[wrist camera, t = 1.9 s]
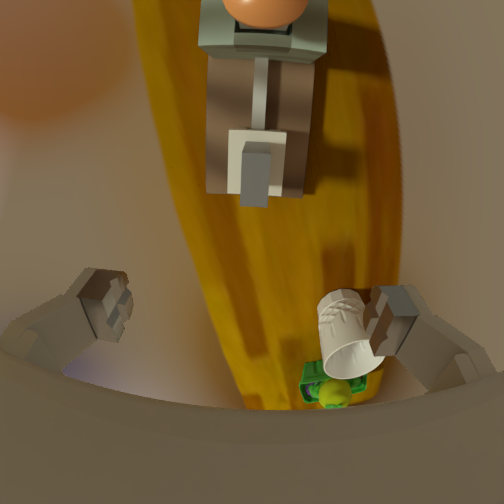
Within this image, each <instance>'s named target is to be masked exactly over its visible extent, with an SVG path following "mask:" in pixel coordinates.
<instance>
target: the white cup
mask: <svg viewBox="0 0 504 504" xmlns="http://www.w3.org/2000/svg"><path fill="white" fill-rule="evenodd" d="M365 307H366V306H365V305H364V302H363V300H362V299H361V297H360V295H359V294H358V293H357V292H355V291H353V290H351V289H338V290H336V291H333V292H330V293H328V294H327V295H326V296H325V297H323V298H322V299H321V301H320V303H319V305H318V307H317V312H318V320H319V324H318V326H319V335H320V344H321V351H322V359H323V368H324V371H325V373H326V374H327V375H328V376H330V377H333V378H336V379H351V378H356V377H359V376H362V375H365V374H367V373H369V372H370V371H372V370H374V369H375V368H376V367H378V366H379V365H380V364H381V362H382V361H383V360H384V358H385V356H377V357H374V356H373V353H372V350H371V347H370V344H369V340H370V338H371V336H370V335H368V334H367V333H366V332H365V330H364V327H363V312H364V310H365Z"/></svg>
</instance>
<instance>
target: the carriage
mask: <svg viewBox="0 0 504 504" xmlns="http://www.w3.org/2000/svg"><path fill="white" fill-rule="evenodd" d="M286 134H287V133H286V132H285V131H281V130H277V129H270V130H258V129H246V128H241V127H236V128H235V129H233V128H230V129H229V141H228V184H227V193H229V194H240V206H253V207H267V205H268V195H269V196H281V193H282V182H283V171H284V159H285V147H286Z"/></svg>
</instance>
